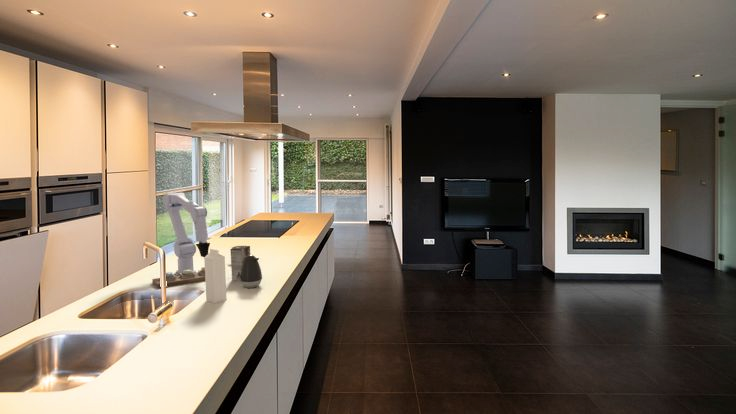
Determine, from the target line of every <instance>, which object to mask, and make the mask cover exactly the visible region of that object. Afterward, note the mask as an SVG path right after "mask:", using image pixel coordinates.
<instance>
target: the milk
mask: <svg viewBox="0 0 736 414" xmlns="http://www.w3.org/2000/svg"><path fill="white" fill-rule="evenodd" d="M203 259H204V262H203V263H204V267H205V281H204V282H205V296H206V297H205V298H206V300H205V301H206V302H208V303H212V304H216V303H220V302H224V301H227V282H226V280H227V278H226V258H225V255H223V254H220V253H219V250H218V249H215V248H214V249H212V248H209V252H208V255H206V256H205V257H203Z"/></svg>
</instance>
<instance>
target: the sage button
mask: <svg viewBox="0 0 736 414" xmlns="http://www.w3.org/2000/svg"><path fill="white" fill-rule="evenodd" d="M188 274H192V271H191V270H183V275H188Z"/></svg>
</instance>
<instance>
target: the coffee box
mask: <svg viewBox="0 0 736 414" xmlns="http://www.w3.org/2000/svg"><path fill="white" fill-rule="evenodd" d="M236 246H237V247H235V246H234V247H235V248H232V247H231V248H230V264H231V265H230V267H231V280H232V281H240V272H241V267H242V263H243V261H244V259H245V257H246V256H248V255H251V245H236ZM240 282H241V281H240Z"/></svg>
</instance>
